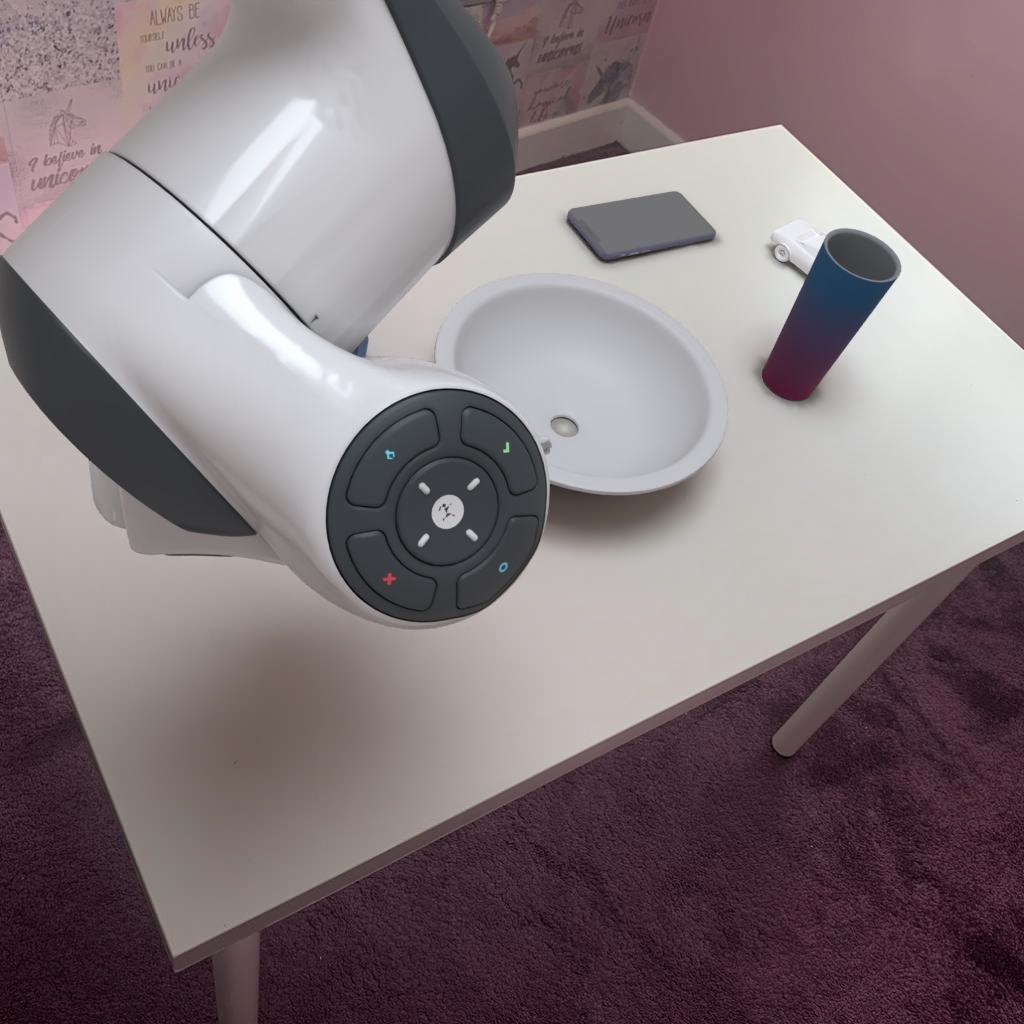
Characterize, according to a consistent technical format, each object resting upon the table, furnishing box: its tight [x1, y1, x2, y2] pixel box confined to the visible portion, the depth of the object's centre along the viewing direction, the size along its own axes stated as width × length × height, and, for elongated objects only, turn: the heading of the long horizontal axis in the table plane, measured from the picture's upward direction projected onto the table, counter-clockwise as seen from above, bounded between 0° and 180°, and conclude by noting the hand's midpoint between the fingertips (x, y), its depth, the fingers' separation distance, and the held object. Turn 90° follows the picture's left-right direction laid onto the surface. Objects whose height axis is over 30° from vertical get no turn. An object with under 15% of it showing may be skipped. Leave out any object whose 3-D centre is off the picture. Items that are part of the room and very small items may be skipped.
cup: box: [761, 227, 902, 401], centre depth 93 cm, size 7×7×15 cm
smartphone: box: [566, 190, 717, 261], centre depth 108 cm, size 8×1×15 cm
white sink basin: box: [433, 272, 729, 496], centre depth 86 cm, size 24×24×7 cm
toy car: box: [770, 218, 827, 276], centre depth 110 cm, size 6×12×3 cm, turn 42°
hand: (290, 440), depth 57 cm, fingers closed on block, 4 cm apart
